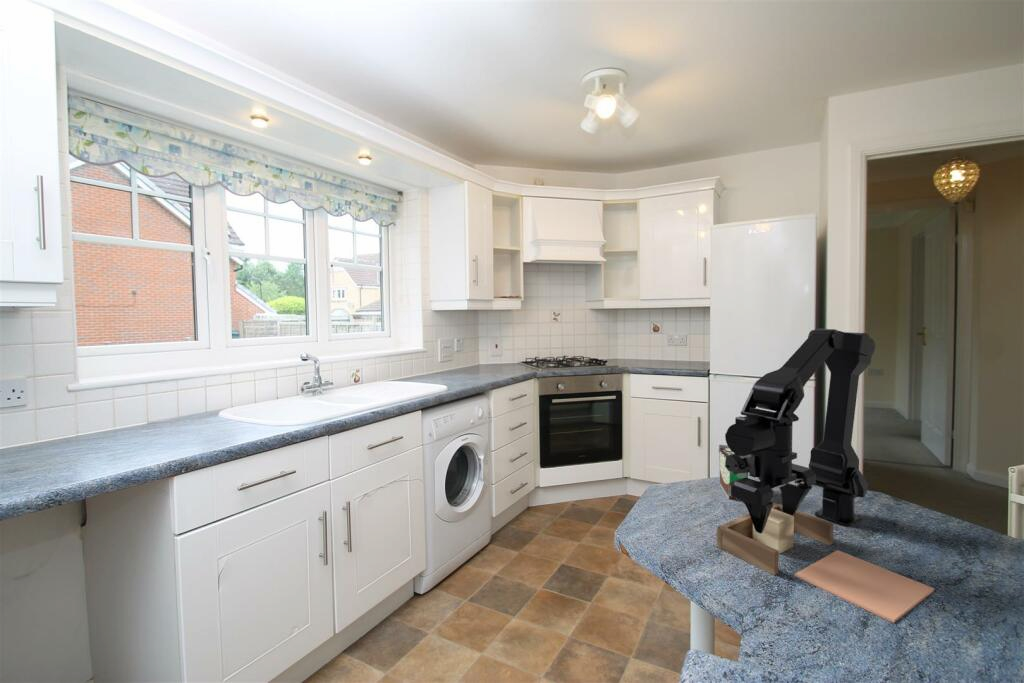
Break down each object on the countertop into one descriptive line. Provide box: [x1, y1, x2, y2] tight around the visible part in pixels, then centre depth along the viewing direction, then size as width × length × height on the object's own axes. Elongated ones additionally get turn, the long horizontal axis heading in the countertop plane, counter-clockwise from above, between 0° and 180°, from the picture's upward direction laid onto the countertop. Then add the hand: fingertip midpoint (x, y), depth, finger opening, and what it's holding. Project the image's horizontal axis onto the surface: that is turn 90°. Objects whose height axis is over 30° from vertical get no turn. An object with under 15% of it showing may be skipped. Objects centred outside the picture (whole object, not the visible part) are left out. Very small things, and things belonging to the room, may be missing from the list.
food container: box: [718, 444, 749, 500], centre depth 115 cm, size 12×6×10 cm, turn 168°
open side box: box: [716, 502, 835, 576], centre depth 90 cm, size 19×11×4 cm, turn 120°
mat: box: [794, 549, 935, 624], centre depth 78 cm, size 14×14×1 cm
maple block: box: [752, 508, 795, 555], centre depth 90 cm, size 5×5×6 cm
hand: (773, 525), depth 90 cm, fingers open, 9 cm apart
